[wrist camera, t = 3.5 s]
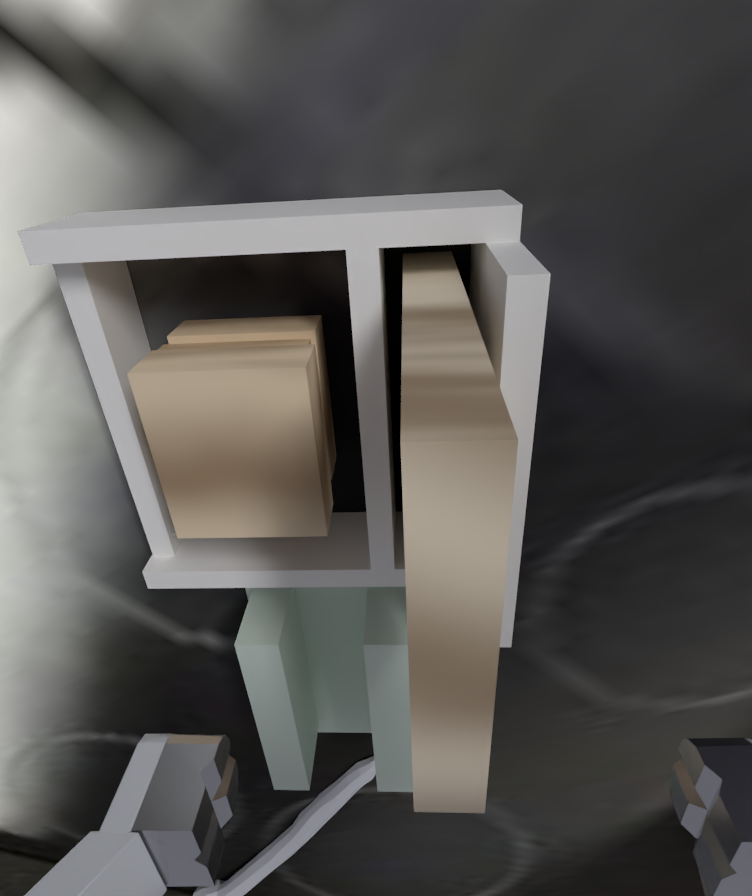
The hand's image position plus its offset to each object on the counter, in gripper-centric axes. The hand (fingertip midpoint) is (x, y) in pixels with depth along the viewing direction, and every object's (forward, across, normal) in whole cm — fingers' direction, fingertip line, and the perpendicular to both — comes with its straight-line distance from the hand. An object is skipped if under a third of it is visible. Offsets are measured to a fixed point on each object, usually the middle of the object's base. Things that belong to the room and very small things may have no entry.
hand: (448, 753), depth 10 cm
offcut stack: (+16, +7, 0) cm, 17 cm away
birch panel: (+15, 0, 0) cm, 16 cm away
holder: (+16, +5, +16) cm, 23 cm away
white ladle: (+17, +12, +38) cm, 43 cm away
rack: (+15, +5, 0) cm, 16 cm away
